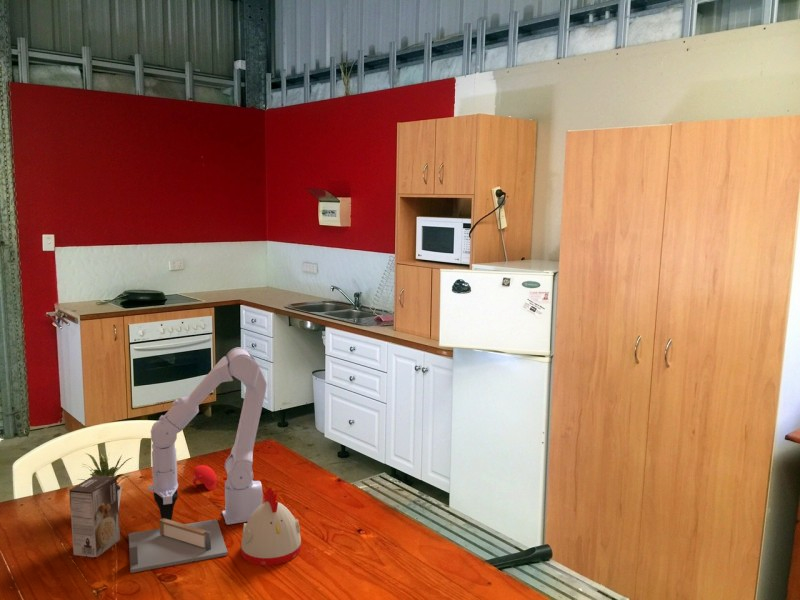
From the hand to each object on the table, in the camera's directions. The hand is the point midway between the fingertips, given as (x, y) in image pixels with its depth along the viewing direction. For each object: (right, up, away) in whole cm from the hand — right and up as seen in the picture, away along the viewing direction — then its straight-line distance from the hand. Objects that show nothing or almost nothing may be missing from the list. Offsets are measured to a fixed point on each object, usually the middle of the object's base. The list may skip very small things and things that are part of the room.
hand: (166, 520), depth 171 cm
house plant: (-20, -1, +8) cm, 21 cm away
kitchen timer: (+28, -4, -10) cm, 30 cm away
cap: (+3, +1, +25) cm, 25 cm away
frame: (+6, -3, -9) cm, 11 cm away
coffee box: (-13, -3, -10) cm, 17 cm away
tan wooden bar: (+7, -2, -9) cm, 11 cm away
